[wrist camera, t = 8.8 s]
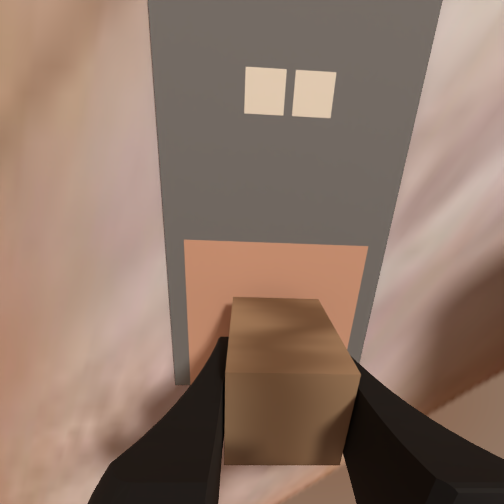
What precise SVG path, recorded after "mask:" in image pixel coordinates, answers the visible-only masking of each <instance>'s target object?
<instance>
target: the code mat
mask: <svg viewBox="0 0 504 504" xmlns="http://www.w3.org/2000/svg"><path fill="white" fill-rule="evenodd" d="M442 1H443V0H148V9H149V23H150V37H151V51H152V65H153V79H154V93H155V107H156V121H157V135H158V149H159V163H160V177H161V191H162V204H163V218H164V232H165V246H166V260H167V274H168V288H169V302H170V316H171V330H172V344H173V358H174V372H175V385H191V384H192V383H193V382H194V380H195V379H196V377H197V376H198V374H199V373H200V371H201V370H202V368H203V367H204V365H205V364H206V362H207V360H208V359H209V357H210V355H211V353H212V352H213V350H214V348H215V346H216V343H217V341H218V338H220V337H229V331H230V321H231V312H232V302H233V297H259V298H296V299H318V300H319V301H320V303H321V305H322V307H323V308H324V310H325V312H326V314H327V315H328V317H329V319H330V321H331V322H332V324H333V326H334V328H335V329H336V331H337V333H338V335H339V337H340V338H341V340H342V342H343V344H344V345H345V347H346V349H347V351H348V352H349V354H350V356H352V357H353V358H354V359H355V360H356V361H357V362H358V363H359V362H360V358H361V353H362V349H363V345H364V340H365V336H366V332H367V327H368V323H369V318H370V314H371V310H372V305H373V301H374V297H375V292H376V288H377V284H378V279H379V275H380V271H381V266H382V262H383V257H384V253H385V249H386V244H387V240H388V236H389V231H390V227H391V223H392V218H393V214H394V210H395V205H396V201H397V197H398V192H399V188H400V183H401V179H402V175H403V170H404V166H405V162H406V157H407V153H408V149H409V144H410V140H411V136H412V131H413V127H414V122H415V118H416V114H417V109H418V105H419V101H420V96H421V92H422V88H423V83H424V79H425V75H426V70H427V66H428V62H429V57H430V53H431V48H432V44H433V40H434V35H435V31H436V27H437V22H438V18H439V14H440V9H441V5H442Z"/></svg>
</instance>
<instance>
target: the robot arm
mask: <svg viewBox="0 0 504 504" xmlns="http://www.w3.org/2000/svg"><path fill="white" fill-rule="evenodd" d="M228 341H229V337H220V338H218V341H217V343H216V346H215V348H214V350H213V352H212V353H211V355H210V357H209V359H208V360H207V362H206V364H205V365H204V367H203V368H202V370H201V371H200V373H199V374H198V376H197V377H196V379H195V380H194V382H193V383H192V384H191V386H190V387H189V388H188V389H187V391H186V392H185V393H184V394H183V396H182V397H181V398H180V399H179V400H178V402H177V403H176V404H175V405H174V406H173V407H172V408H171V409H170V410H169V411H168V413H167V414H166V415H165V416H164V417H163V418H162V419H161V420H160V421H159V422H158V423H157V424H155V425H154V426H153V427H152V428H151V429H150V430H149V431H148V432H147V433H146V434H145V435H144V436H143V437H142V438H141V439H139V440H138V441H137V442H136V443H135V444H134V445H132V446H131V447H130V448H129V449H127V450H126V451H125V452H124V453H123V454H121V455H120V456H119V457H118V458H117V459H115V460H114V461H113V462H111V463H110V465H109V466H108V468H107V470H106V471H105V473H104V474H103V476H102V478H101V480H100V481H99V483H98V485H97V486H96V488H95V490H94V492H93V494H92V496H91V497H90V500H89V502H88V504H218V499H219V486H220V472H221V459H222V448H223V440H224V434H225V370H226V361H227V351H228ZM351 358H352V359H353V361H354V363H355V365H356V366H357V368H358V370H359V372H360V373H361V377H360V381H359V386H358V390H357V394H356V398H355V402H354V407H353V411H352V415H351V419H350V424H349V428H348V432H347V436H346V440H345V445H344V449H343V455H344V458H345V462H346V466H347V469H348V473H349V476H350V480H351V484H352V488H353V492H354V495H355V499H356V503H357V504H504V459H502V458H500V457H498V456H496V455H494V454H492V453H490V452H488V451H486V450H484V449H482V448H480V447H479V446H476V445H474V444H473V443H471V442H469V441H467V440H466V439H464V438H462V437H460V436H459V435H457V434H455V433H453V432H452V431H450V430H448V429H446V428H445V427H443V426H442V425H440V424H438V423H437V422H435V421H433V420H432V419H430V418H429V417H427V416H426V415H424V414H423V413H421V412H420V411H418V410H417V409H415V408H414V407H412V406H411V405H409V404H408V403H407V402H405V401H404V400H402V399H401V398H400V397H398V396H397V395H396V394H394V393H393V392H392V391H390V390H389V389H388V388H387V387H385V386H384V385H383V384H382V383H381V382H379V381H378V380H377V379H376V378H375V377H373V376H372V375H371V374H370V373H369V372H368V371H367V370H366V369H364V368H363V367H362V366H361V365H360V364H359V363H358V362H357V361H356V360H355V359H354V358H353V357H352V356H351Z"/></svg>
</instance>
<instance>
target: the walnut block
mask: <svg viewBox="0 0 504 504" xmlns="http://www.w3.org/2000/svg"><path fill="white" fill-rule="evenodd" d="M360 377H361V373H360V372H359V370H358V368H357V366H356V365H355V363H354V361H353V359H352V358H351V356H350V354H349V352H348V351H347V349H346V347H345V345H344V344H343V342H342V340H341V338H340V337H339V335H338V333H337V331H336V329H335V328H334V326H333V324H332V322H331V321H330V319H329V317H328V315H327V314H326V312H325V310H324V308H323V307H322V305H321V303H320V301H319V300H318V299H296V298H259V297H233V302H232V312H231V321H230V331H229V341H228V351H227V361H226V370H225V440H224V465H340V462H341V457H342V453H343V449H344V445H345V440H346V436H347V432H348V428H349V424H350V419H351V415H352V411H353V407H354V402H355V398H356V394H357V390H358V386H359V381H360Z"/></svg>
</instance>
